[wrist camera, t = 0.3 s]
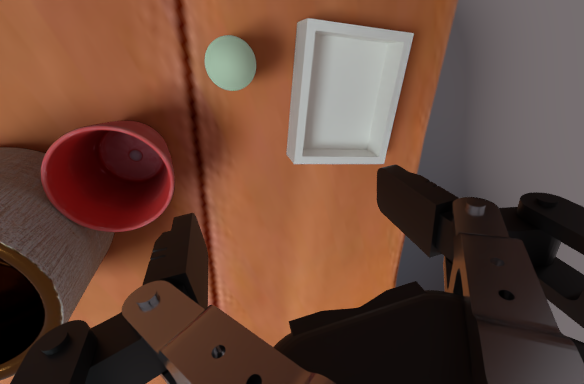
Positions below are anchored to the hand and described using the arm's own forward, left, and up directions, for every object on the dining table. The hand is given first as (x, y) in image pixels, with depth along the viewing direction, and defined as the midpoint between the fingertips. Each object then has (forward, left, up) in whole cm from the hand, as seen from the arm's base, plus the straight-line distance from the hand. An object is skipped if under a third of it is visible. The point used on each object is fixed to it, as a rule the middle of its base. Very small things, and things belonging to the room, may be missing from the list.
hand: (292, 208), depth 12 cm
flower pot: (+6, -12, -27) cm, 30 cm away
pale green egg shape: (-5, -1, -27) cm, 27 cm away
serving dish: (-2, +13, -27) cm, 30 cm away
